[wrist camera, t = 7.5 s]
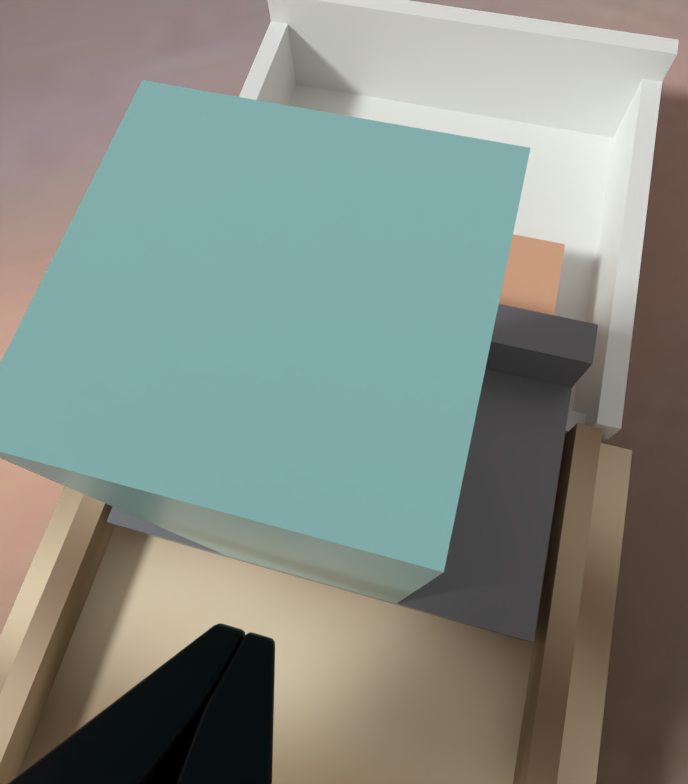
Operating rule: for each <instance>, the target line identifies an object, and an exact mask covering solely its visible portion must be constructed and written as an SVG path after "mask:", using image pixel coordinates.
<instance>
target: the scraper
mask: <svg viewBox="0 0 688 784" xmlns="http://www.w3.org/2000/svg"><path fill="white" fill-rule="evenodd" d="M529 153H530V148H529V147H523V146H518V145H512V144H506V143H500V142H495V141H489V140H483V139H477V138H472V137H466V136H460V135H454V134H449V133H443V132H437V131H431V130H426V129H420V128H414V127H408V126H403V125H397V124H391V123H385V122H380V121H374V120H368V119H362V118H357V117H351V116H345V115H339V114H334V113H328V112H322V111H316V110H311V109H305V108H299V107H294V106H288V105H282V104H276V103H271V102H265V101H259V100H253V99H248V98H242V97H236V96H230V95H225V94H219V93H213V92H207V91H202V90H196V89H190V88H184V87H179V86H173V85H167V84H161V83H156V82H150V81H144V80H142V82H141V84H140V86H139V88H138V90H137V92H136V94H135V96H134V98H133V100H132V102H131V104H130V106H129V108H128V110H127V112H126V114H125V116H124V118H123V120H122V122H121V124H120V126H119V128H118V130H117V132H116V134H115V136H114V138H113V140H112V142H111V144H110V146H109V148H108V150H107V152H106V154H105V156H104V158H103V160H102V162H101V164H100V166H99V168H98V170H97V172H96V174H95V176H94V178H93V180H92V182H91V184H90V186H89V188H88V190H87V192H86V194H85V196H84V198H83V200H82V202H81V204H80V206H79V208H78V210H77V212H76V213H75V215H74V217H73V219H72V221H71V223H70V225H69V227H68V229H67V231H66V233H65V235H64V237H63V239H62V241H61V243H60V245H59V247H58V249H57V251H56V253H55V255H54V257H53V259H52V261H51V263H50V265H49V267H48V269H47V271H46V273H45V275H44V277H43V279H42V281H41V283H40V285H39V287H38V289H37V291H36V293H35V295H34V297H33V299H32V301H31V303H30V305H29V307H28V309H27V311H26V313H25V315H24V317H23V319H22V321H21V323H20V325H19V327H18V329H17V331H16V333H15V335H14V337H13V339H12V341H11V343H10V345H9V347H8V349H7V351H6V353H5V355H4V357H3V359H2V361H1V363H0V458H2V459H4V460H6V461H8V462H11V463H13V464H15V465H18V466H20V467H22V468H25V469H27V470H29V471H32V472H34V473H36V474H39V475H41V476H43V477H46V478H48V479H50V480H52V481H55V482H57V483H59V484H62V485H64V486H66V487H69V488H71V489H73V490H76V491H78V492H80V493H83V494H85V495H87V496H89V497H92V498H94V499H96V500H99V501H101V502H103V503H106V504H108V505H110V506H113V507H112V509H111V512H110V514H109V517H108V519H107V522H108V523H111V524H114V525H117V526H119V527H122V528H125V529H129V530H132V531H136V532H140V533H143V534H147V535H150V536H154V537H157V538H161V539H164V540H168V541H172V542H175V543H179V544H182V545H186V546H189V547H193V548H196V549H200V550H203V551H207V552H211V553H214V554H218V555H221V556H225V557H228V558H232V559H235V560H239V561H242V562H246V563H250V564H253V565H257V566H260V567H264V568H267V569H271V570H274V571H278V572H281V573H285V574H289V575H292V576H296V577H299V578H303V579H306V580H310V581H313V582H317V583H320V584H324V585H328V586H331V587H335V588H338V589H342V590H345V591H349V592H352V593H356V594H359V595H363V596H367V597H370V598H374V599H377V600H381V601H384V602H388V603H391V604H395V605H398V606H402V607H406V608H409V609H413V610H416V611H420V612H423V613H427V614H430V615H434V616H438V617H441V618H445V619H448V620H452V621H455V622H459V623H462V624H466V625H469V626H473V627H477V628H480V629H484V630H487V631H491V632H494V633H498V634H501V635H505V636H508V637H512V638H516V639H519V640H523V641H529V642H534V636H535V630H536V623H537V616H538V610H539V603H540V596H541V590H542V583H543V576H544V570H545V563H546V556H547V550H548V543H549V537H550V530H551V523H552V517H553V510H554V503H555V497H556V490H557V483H558V477H559V470H560V463H561V457H562V450H563V443H564V437H565V430H566V423H567V417H568V410H569V403H570V397H571V390H572V387H573V386H574V385H575V383H576V382H577V381H578V380H579V379H580V378H581V377H582V375H583V374H584V373H585V372H586V371H587V370H588V368H589V367H590V366H591V365H592V364H593V357H594V350H595V343H596V336H597V328H598V324H593V323H588V322H583V321H579V320H574V319H569V318H564V317H560V316H555V315H550V314H545V313H540V312H536V311H531V310H526V309H521V308H517V307H512V306H507V305H502V304H499V300H500V295H501V290H502V285H503V280H504V275H505V271H506V266H507V261H508V256H509V251H510V246H511V241H512V236H513V231H514V227H515V222H516V217H517V212H518V207H519V202H520V197H521V192H522V188H523V183H524V178H525V173H526V168H527V163H528V158H529Z"/></svg>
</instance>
